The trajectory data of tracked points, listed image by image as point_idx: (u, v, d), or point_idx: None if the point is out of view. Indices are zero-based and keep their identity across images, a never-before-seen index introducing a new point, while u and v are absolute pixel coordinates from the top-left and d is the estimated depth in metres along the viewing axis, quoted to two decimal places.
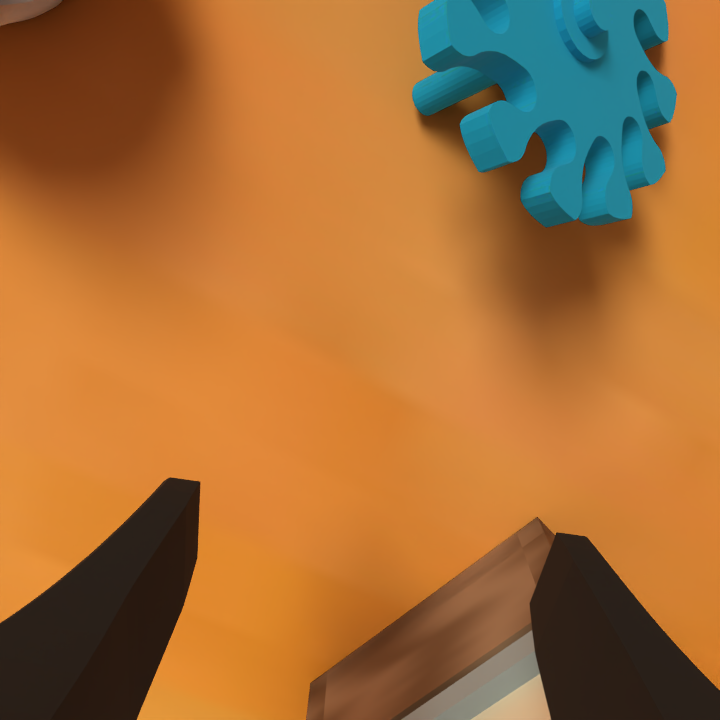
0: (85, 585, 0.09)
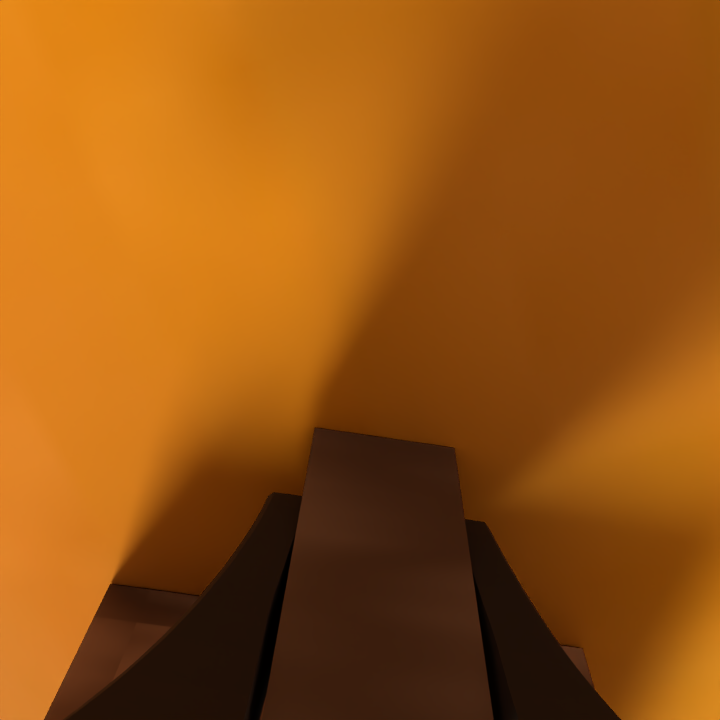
0: (226, 603, 0.10)
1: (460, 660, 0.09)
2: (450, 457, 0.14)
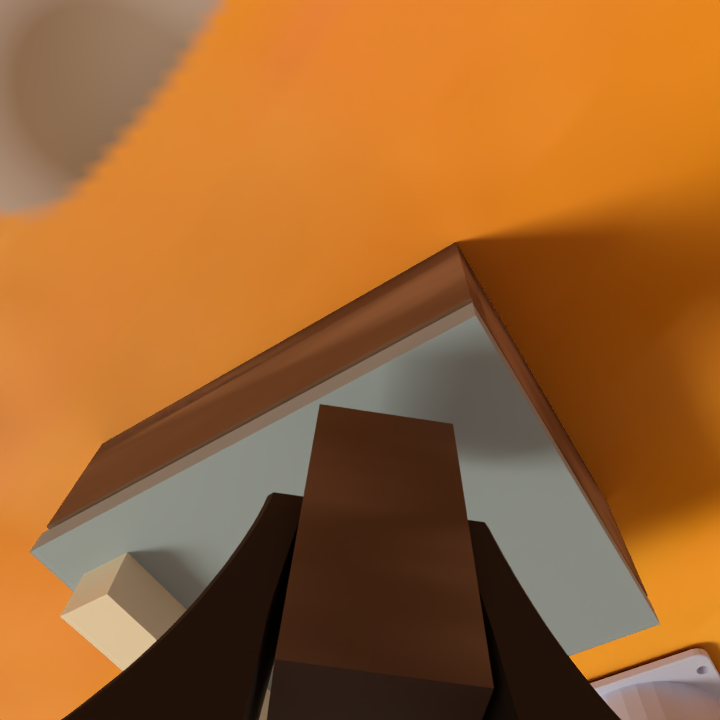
0: (225, 604, 0.10)
1: (458, 611, 0.10)
2: (449, 432, 0.14)
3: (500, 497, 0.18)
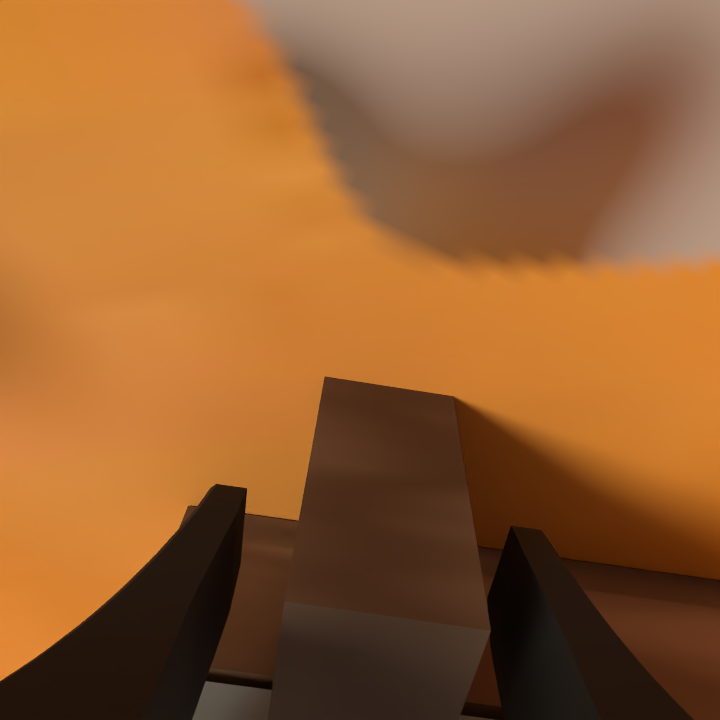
0: (148, 593, 0.09)
1: (458, 562, 0.11)
2: (449, 404, 0.15)
3: None
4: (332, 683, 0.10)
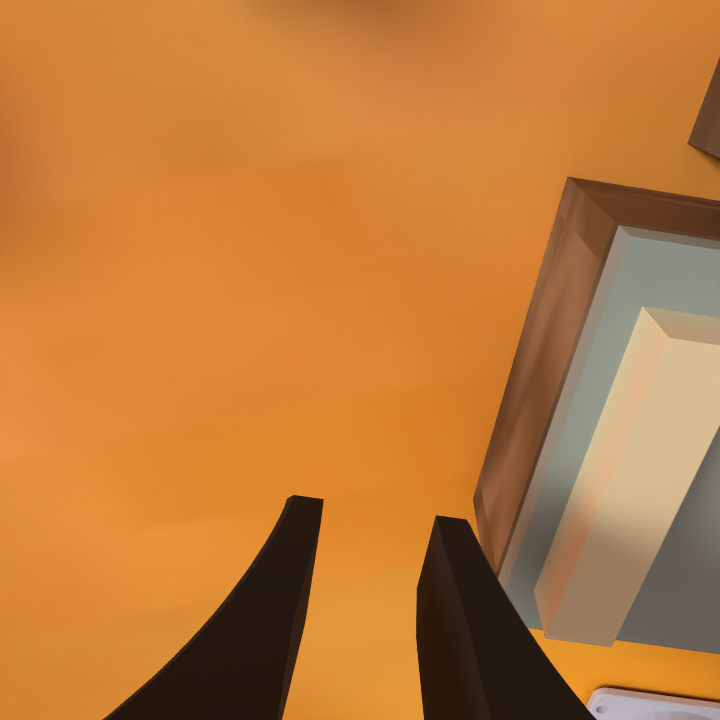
0: (252, 607, 0.10)
1: None
2: None
3: None
4: None
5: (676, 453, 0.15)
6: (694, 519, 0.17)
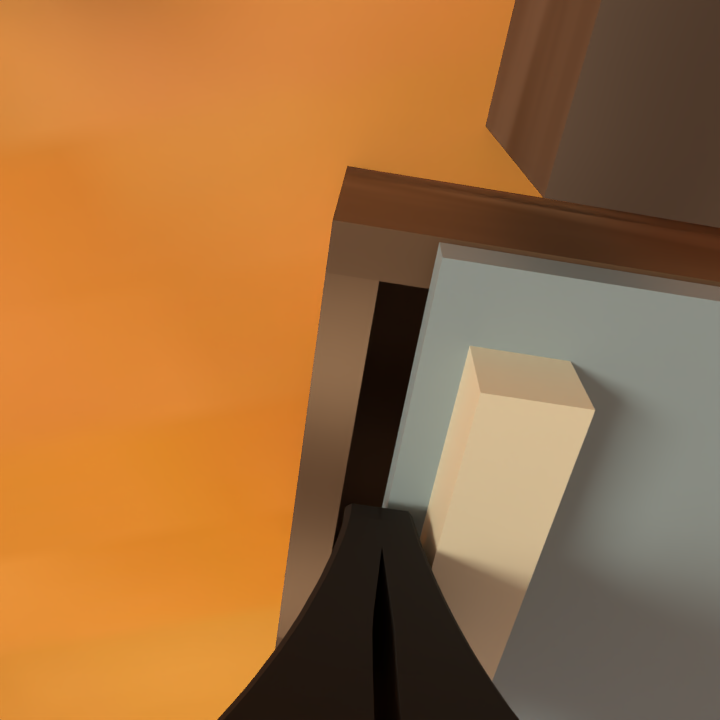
0: (330, 617, 0.10)
1: None
2: None
3: None
4: (639, 109, 0.09)
5: (511, 534, 0.11)
6: (565, 598, 0.14)
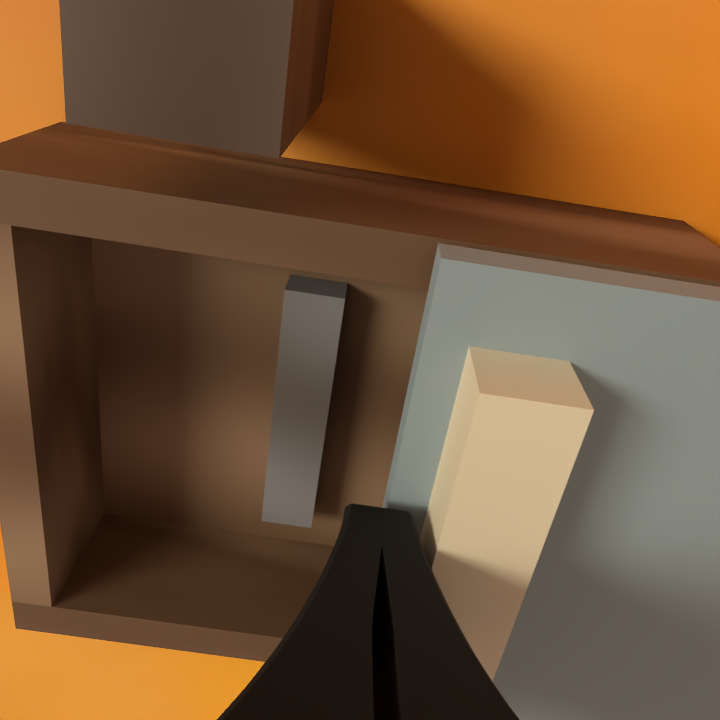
0: (329, 618, 0.10)
1: None
2: None
3: None
4: (130, 26, 0.09)
5: (510, 534, 0.11)
6: (565, 598, 0.14)
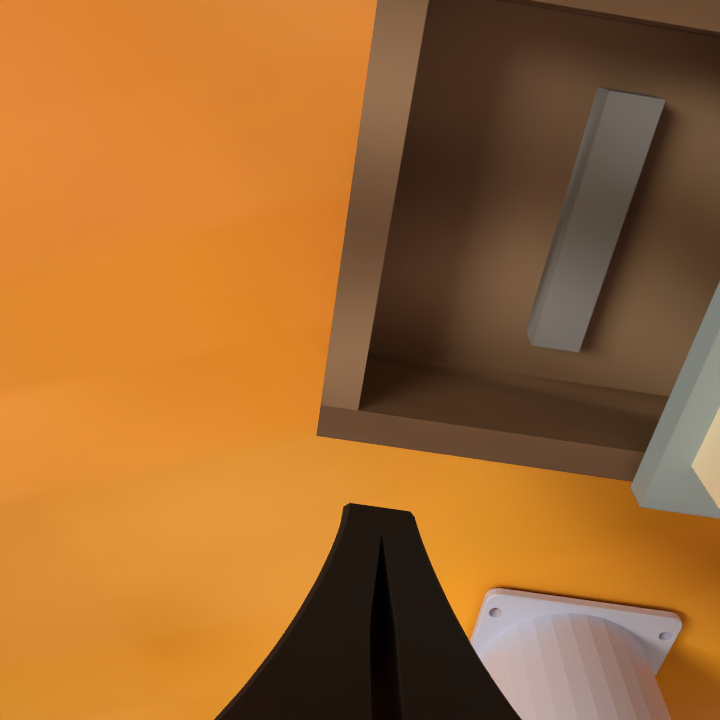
0: (327, 617, 0.10)
1: None
2: None
3: None
4: None
5: None
6: None
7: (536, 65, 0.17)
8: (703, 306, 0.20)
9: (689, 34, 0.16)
